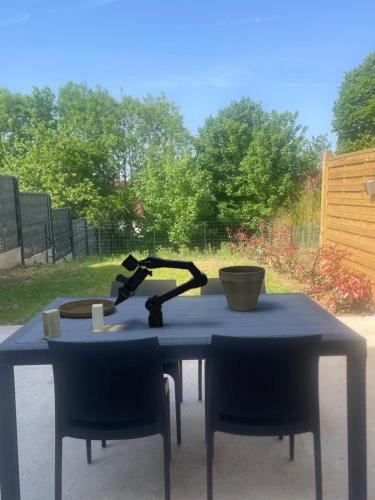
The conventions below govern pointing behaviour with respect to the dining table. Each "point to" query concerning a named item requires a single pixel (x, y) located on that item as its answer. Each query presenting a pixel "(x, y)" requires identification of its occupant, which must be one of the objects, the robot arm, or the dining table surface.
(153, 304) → the robot arm
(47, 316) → the skincare box
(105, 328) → the board
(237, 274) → the plant pot
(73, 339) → the dining table surface
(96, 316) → the tall white cuboid
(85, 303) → the plant saucer
